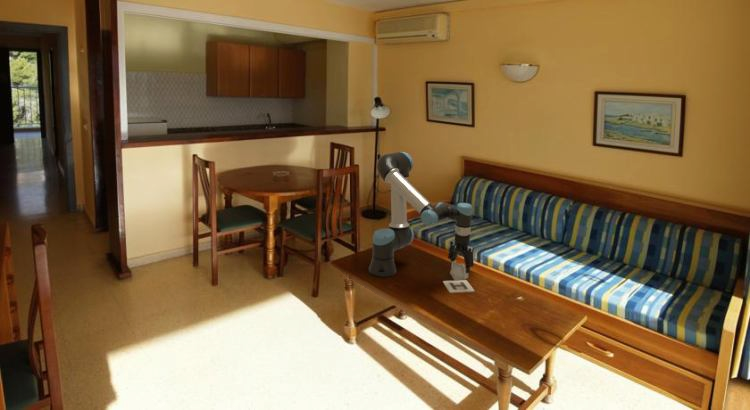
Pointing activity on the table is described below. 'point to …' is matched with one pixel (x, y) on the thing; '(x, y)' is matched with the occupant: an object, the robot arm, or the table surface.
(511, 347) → the table surface
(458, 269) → the die
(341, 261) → the table surface
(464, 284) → the board
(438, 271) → the table surface
